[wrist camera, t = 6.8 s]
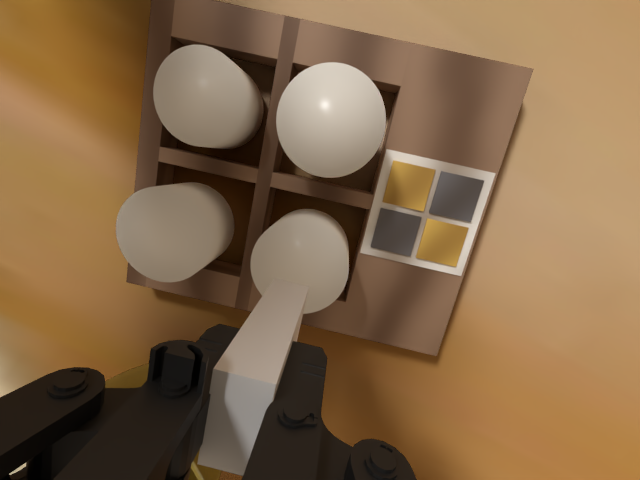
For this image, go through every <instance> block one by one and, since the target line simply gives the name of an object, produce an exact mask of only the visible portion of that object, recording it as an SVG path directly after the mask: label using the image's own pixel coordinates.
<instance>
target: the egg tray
mask: <svg viewBox="0 0 640 480" xmlns="http://www.w3.org/2000/svg"><path fill="white" fill-rule="evenodd" d="M188 45H205V46H209V47H212V48H214V49H217V50H219V51H220V52H222V53H223V54H225V55H226V56H227V57H232V58H236V59H241V60H245V61H250V62H254V63H259V64H264V65H268V66H273V67H276V70H275V76H274V81H273V87H272V93H271V99H270V105H269V110H268V116H267V122H266V128H265V134H264V140H263V145H262V151H261V157H260V163H259V167H258V166H254V165H249V164H245V163H241V162H236V161H232V160H227V159H223V158H219V157H214V156H210V155H205V154H201V153H197V152H192V151H188V150H183V149H179V148H177V141H178V139H177V138H176V137H174V136H173V135H172V134H171V133H170V132H169V131H168V130H167V129H166V128H165V126H164V125H163V123H162V122H161V120H160V118H159V116H158V114H157V111H156V108H155V104H154V97H153V87H154V80H155V77H156V74H157V71H158V69H159V67H160V66H161V64H162V62H163V61H164V60H165V59H166V58H167V57H168V56H169V55H170V54H171V53H172V52H174V51H175V50H177V49H179V48H181V47H184V46H188ZM327 62H337V63H343V64H347V65H350V66H352V67H355V68H357V69H358V70H360V71H361V72H363V73H364V74H365V75H367V76H368V77H369V78H370V79H371V80H372V82H373V83H374V84H375V86H376V87H377V89H378V90H383V91H387V92H392V93H396V94H395V98H394V102H393V106H392V110H391V114H390V118H389V122H388V126H387V130H386V134H385V138H384V142H383V146H382V150H381V154H380V158H379V162H378V165H377V169H376V173H375V177H374V181H373V185H372V189H371V192H368V191H364V190H360V189H355V188H351V187H346V186H342V185H338V184H333V183H329V182H324V181H320V180H315V179H311V178H307V177H302V176H298V175H293V174H289V173H285V172H280V166H281V160H282V155H283V150H284V149H283V148H282V146H281V143H280V141H279V137H278V133H277V127H276V115H277V109H278V104H279V101H280V99H281V96H282V94H283V92H284V90H285V89H286V87H287V86H288V84H289V83H290V82H291V81H292V80H293V79H294V77H296V76H297V75H298V72H300V73H301V72H302V71H304V70H305V69H307V68H309V67H311V66H314V65H317V64H320V63H327ZM532 72H533V69H532V68H527V67H522V66H518V65H513V64H508V63H504V62H499V61H494V60H490V59H485V58H480V57H476V56H471V55H466V54H462V53H457V52H452V51H448V50H443V49H438V48H434V47H429V46H424V45H420V44H415V43H410V42H406V41H401V40H396V39H392V38H387V37H382V36H378V35H373V34H368V33H364V32H359V31H354V30H350V29H345V28H340V27H336V26H331V25H326V24H322V23H317V22H312V21H308V20H303V19H298V18H294V17H289V16H284V15H280V14H275V13H270V12H266V11H261V10H256V9H252V8H247V7H242V6H238V5H233V4H228V3H224V2H219V1H214V0H151V11H150V22H149V33H148V44H147V56H146V67H145V78H144V90H143V101H142V112H141V124H140V135H139V146H138V158H137V169H136V180H135V192H137V191H139V190H142V189H144V188H148V187H155V186H162V185H170V184H173V176H174V168H175V165H177V166H182V167H186V168H190V169H195V170H199V171H203V172H208V173H212V174H217V175H221V176H225V177H230V178H234V179H238V180H243V181H247V182H252V183H256V186H255V192H254V198H253V204H252V209H251V215H250V221H249V227H248V233H247V238H246V244H245V250H244V256H243V262H242V266H240V265H236V264H232V263H228V262H223V261H219V260H215V259H214V260H213V261H212V262H210V263H209V264H208V265H206V266H205V267H203V268H202V269H201V270H199V271H198V272H197V273H195V274H194V275H193V276H191V277H189V278H187V279H185V280H182V281H178V282H160V281H156V280H153V279H150V278H148V277H146V276H144V275H142V274H141V273H139V272H138V271H137V270H135V269H134V268H133V267H132V266H131V265H130V264H129V262H128V271H127V282H128V283H133V284H137V285H141V286H145V287H149V288H153V289H158V290H162V291H166V292H170V293H174V294H179V295H183V296H187V297H191V298H195V299H199V300H204V301H208V302H212V303H216V304H220V305H225V306H229V307H233V308H237V309H241V310H245V311H250V312H252V311H253V309H254V308H255V306H256V305H257V303H258V302H259V300H260V299H261V297H262V295H261V294H260V292H259V291H258V289H257V288H256V286H255V283H254V281H253V278H252V274H251V265H250V262H251V255H252V251H253V248H254V246H255V244H256V242H257V240H258V239H259V238H260V236H261V235H262V234H263V233H264V232H265V231H266V230H267V229H268V228H269V225H270V219H271V214H272V209H273V203H274V198H275V193H276V188H278V189H282V190H287V191H291V192H295V193H300V194H304V195H308V196H313V197H317V198H322V199H326V200H330V201H335V202H339V203H343V204H348V205H352V206H357V207H361V208H365V209H366V213H365V217H364V221H363V225H362V229H361V233H360V237H359V241H358V245H357V249H356V252H355V256H354V260H353V264H352V268H351V272H350V276H349V280H348V284H347V288H346V290H343V291H342V293H341V294H340V296H339V297H338V298H337V299H336V300H335V301H334V302H333V303H332V304H330V305H329V306H327V307H326V308H324V309H322V310H320V311H317V312H313V313H307V314H303V317H302V321H301V324H304V325H308V326H312V327H317V328H321V329H325V330H329V331H333V332H338V333H342V334H346V335H350V336H354V337H358V338H363V339H367V340H371V341H375V342H379V343H384V344H388V345H392V346H396V347H400V348H404V349H409V350H413V351H417V352H421V353H425V354H430V355H434V356H437V354H438V351H439V348H440V345H441V342H442V339H443V336H444V333H445V330H446V327H447V324H448V321H449V318H450V315H451V312H452V309H453V306H454V303H455V300H456V297H457V294H458V291H459V288H460V285H461V283H462V280H463V277H464V274H465V271H466V268H467V265H468V262H469V259H470V256H471V253H472V250H473V247H474V244H475V241H476V238H477V235H478V232H479V229H480V226H481V223H482V220H483V217H484V214H485V211H486V208H487V205H488V202H489V199H490V197H491V194H492V191H493V188H494V185H495V182H496V179H497V176H498V173H499V170H500V167H501V164H502V161H503V158H504V155H505V152H506V149H507V146H508V143H509V140H510V137H511V134H512V131H513V128H514V125H515V122H516V119H517V116H518V113H519V111H520V108H521V105H522V102H523V99H524V96H525V93H526V90H527V87H528V84H529V81H530V78H531V75H532ZM135 192H134V193H135Z"/></svg>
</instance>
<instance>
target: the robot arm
mask: <svg viewBox="0 0 640 480" xmlns="http://www.w3.org/2000/svg"><path fill="white" fill-rule="evenodd" d="M308 290H309V287H308V286H304V285H300V284H296V283H292V282H288V281H283V280H279V279H275V278H274V280H273V281H272V283H271V284H270V286H269V287H268V289H267V290H266V292H265V293H264V294H263V296H262V297H261V299H260V300H259V302H258V303H257V305H256V306H255V308H254V309H253V311H252V312H251V314H250V315H249V317H248V318H247V320H246V321H245V323H244V324H243V325H242V327H241V328H240V329H238V328H234V327H230V326H226V325H222V324H218V325H216V326H214V327H212V328H209V329H207V330H206V331H205V333H204V334H203V335H202V336H201V337H200V339H199V340H198V341H197V342H196V343H195V342H192V341H185V340H173V341H167V342H163V343H160V344H158V345H156V346H155V347H153V348H151V352H150V360H149V368H148V377H147V381H146V382H145V383H144V384H143V385H142V386H141V387H138V388H105V378H104V375H102V374H101V373H100V372H99V371H97V370H94V369H90V368H81V367H74V368H68V369H62V370H58V371H56V372H53V373H50V374H48V375H45V376H43V377H41V378H39V379H37V380H35V381H33V382H31V383H29V384H27V385H25V386H23V387H21V388H19V389H17V390H15V391H13V392H11V393H9V394H7V395H4V396H2V397H0V480H188V479H189V476H190V470H191V464H192V462H193V460H194V458H195V457H196V455H197V453H198V451H199V449H200V451H199V457H198V463H197V464H199V465H203V466H207V467H211V468H214V469H218V470H222V471H226V472H230V473H233V474H237V475H241V476H243V478H242V480H417V479H416V477H415V475H414V472H413V470H412V468H411V466H410V464H409V463H408V461H407V460H406V458H405V457H404V455H403V454H401V453H400V452H399V451H398V450H397V449H396V448H395V447H393V446H391V445H389V444H387V443H386V442H384V441H380V440H375V439H366V440H361V441H360V442H358V443H356V444H355V445H354V447H351V446H350V445H348V444H346V443H344V442H342V441H341V440H339V439H338V438H336V437H335V436H334V435H333V434H332V433H331V432H330V431H328V429H327V428H326V426H325V425H324V423H323V420H322V418H321V407H322V398H323V390H324V381H325V373H326V364H327V357H326V355H325V353H324V351H323V349H322V348H320V347H316V346H312V345H308V344H304V343H300V342H297V339H298V334H299V330H300V326H301V321H302V317H303V312H304V308H305V303H306V299H307V295H308ZM24 463H26V467H25V468H23V469H22V470H20V471H18V472H16V473H14V474H12V475H9V473H11V472H12V471H14V470H15V469H17V468H18V467H20V466H21V465H23V464H24Z"/></svg>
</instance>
